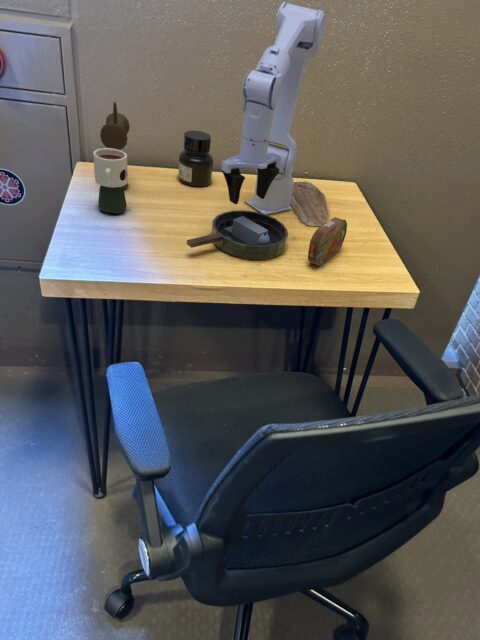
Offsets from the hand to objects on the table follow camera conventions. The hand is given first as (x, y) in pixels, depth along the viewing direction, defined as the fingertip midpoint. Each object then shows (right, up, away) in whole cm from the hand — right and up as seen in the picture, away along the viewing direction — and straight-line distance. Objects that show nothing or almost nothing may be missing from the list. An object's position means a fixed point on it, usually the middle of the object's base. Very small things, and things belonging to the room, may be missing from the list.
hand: (247, 199), depth 117 cm
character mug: (-32, -1, +5) cm, 32 cm away
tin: (+17, -12, +4) cm, 22 cm away
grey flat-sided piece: (0, -8, +4) cm, 9 cm away
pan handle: (-9, -11, -4) cm, 14 cm away
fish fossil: (+15, +6, +25) cm, 30 cm away
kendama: (-33, +8, +15) cm, 37 cm away
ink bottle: (-15, +13, +25) cm, 32 cm away
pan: (0, -8, +4) cm, 9 cm away
